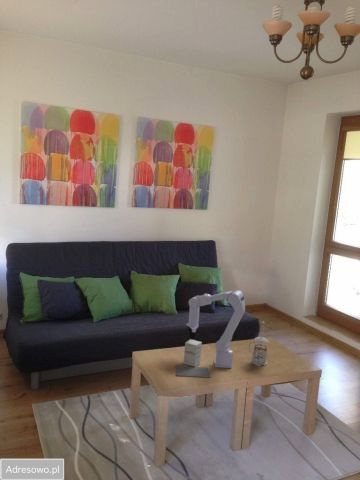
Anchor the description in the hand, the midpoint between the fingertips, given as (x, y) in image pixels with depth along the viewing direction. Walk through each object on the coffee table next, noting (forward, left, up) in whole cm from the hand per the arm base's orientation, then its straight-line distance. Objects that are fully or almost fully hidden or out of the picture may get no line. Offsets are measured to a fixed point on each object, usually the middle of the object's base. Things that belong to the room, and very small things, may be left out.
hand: (192, 339), depth 246 cm
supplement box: (0, +10, -10) cm, 14 cm away
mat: (0, +20, -10) cm, 23 cm away
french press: (-39, +3, -11) cm, 41 cm away
